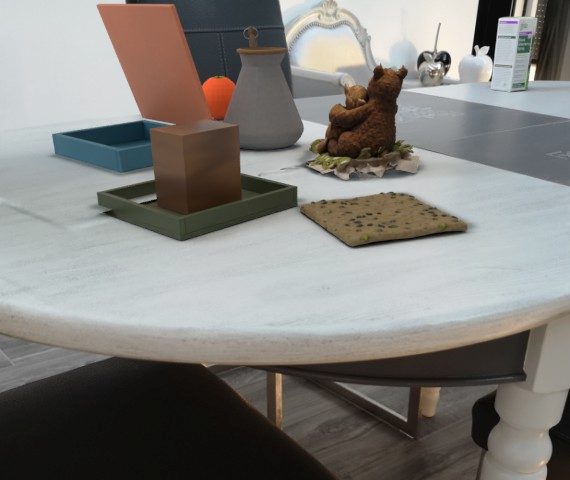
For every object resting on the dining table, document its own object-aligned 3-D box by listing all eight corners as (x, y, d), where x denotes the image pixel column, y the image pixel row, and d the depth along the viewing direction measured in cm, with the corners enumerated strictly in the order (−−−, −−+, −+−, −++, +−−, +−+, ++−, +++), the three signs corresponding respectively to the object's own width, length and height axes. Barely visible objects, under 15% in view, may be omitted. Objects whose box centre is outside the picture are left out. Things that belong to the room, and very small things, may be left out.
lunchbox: (122, 179, 79) (119, 150, 77) (55, 159, 88) (51, 133, 86) (216, 159, 88) (214, 133, 86) (146, 143, 97) (144, 119, 96)
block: (188, 216, 64) (182, 135, 60) (157, 206, 67) (149, 128, 63) (242, 201, 68) (239, 125, 64) (210, 192, 71) (205, 119, 68)
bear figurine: (385, 150, 92) (392, 54, 86) (434, 175, 79) (445, 64, 73) (290, 156, 89) (290, 56, 83) (325, 183, 76) (328, 68, 70)
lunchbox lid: (170, 6, 76) (174, 3, 76) (95, 5, 85) (99, 3, 85) (213, 131, 86) (216, 129, 86) (142, 118, 95) (145, 116, 96)
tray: (181, 241, 59) (179, 219, 58) (99, 211, 67) (96, 192, 66) (297, 205, 68) (297, 186, 67) (213, 183, 76) (212, 166, 75)
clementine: (204, 114, 120) (202, 72, 116) (243, 114, 119) (241, 72, 116) (197, 122, 113) (194, 77, 109) (238, 122, 112) (236, 77, 109)
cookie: (297, 210, 66) (297, 200, 66) (403, 197, 70) (404, 188, 70) (349, 247, 57) (350, 236, 56) (470, 230, 60) (471, 220, 60)
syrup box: (510, 92, 144) (521, 17, 137) (489, 89, 148) (498, 16, 141) (527, 90, 146) (539, 16, 140) (506, 87, 151) (516, 16, 144)
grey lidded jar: (310, 156, 89) (311, 31, 82) (224, 159, 88) (217, 33, 80) (288, 128, 107) (288, 25, 100) (217, 130, 106) (212, 25, 99)
